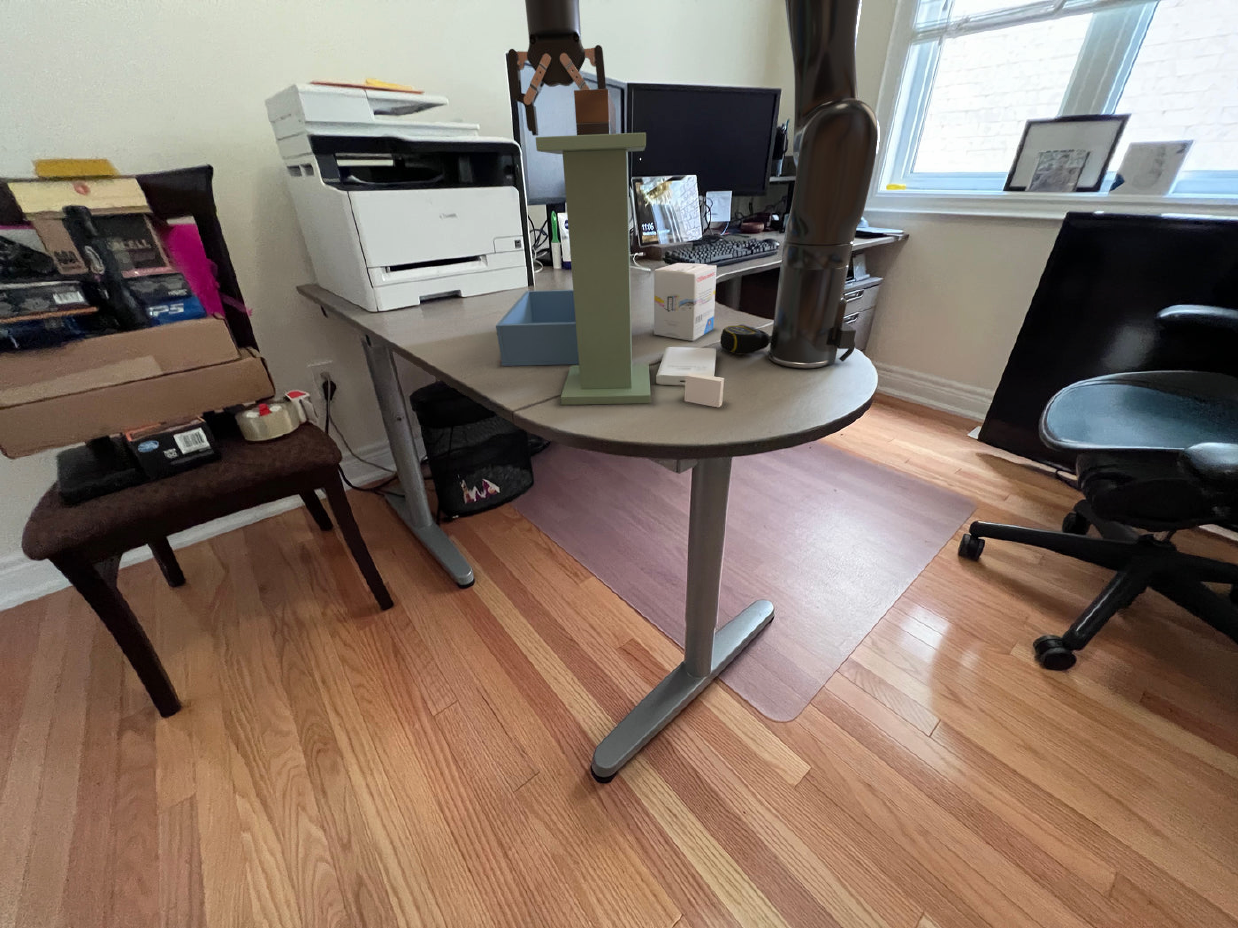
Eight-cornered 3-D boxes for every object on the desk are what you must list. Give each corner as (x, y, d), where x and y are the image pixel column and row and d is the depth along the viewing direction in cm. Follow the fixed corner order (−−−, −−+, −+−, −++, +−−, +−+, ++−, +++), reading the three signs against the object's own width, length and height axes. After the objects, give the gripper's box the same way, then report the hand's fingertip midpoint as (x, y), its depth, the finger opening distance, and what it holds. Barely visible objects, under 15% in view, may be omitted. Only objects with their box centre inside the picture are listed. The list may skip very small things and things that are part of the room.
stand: (648, 366, 77) (647, 139, 62) (650, 409, 64) (651, 132, 48) (572, 368, 78) (553, 143, 62) (559, 411, 64) (530, 137, 49)
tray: (595, 322, 100) (594, 289, 97) (585, 364, 79) (582, 323, 76) (530, 324, 101) (525, 291, 97) (502, 366, 80) (495, 325, 76)
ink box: (675, 323, 98) (677, 261, 91) (714, 329, 93) (718, 264, 87) (652, 335, 92) (652, 268, 86) (692, 342, 87) (695, 272, 81)
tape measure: (770, 353, 81) (773, 330, 79) (737, 361, 78) (740, 338, 76) (742, 342, 86) (744, 321, 84) (711, 349, 83) (712, 327, 81)
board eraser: (616, 143, 69) (615, 108, 67) (609, 136, 52) (608, 88, 50) (591, 144, 69) (589, 109, 67) (576, 137, 52) (573, 90, 50)
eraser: (719, 407, 64) (721, 381, 62) (684, 401, 66) (685, 375, 64) (722, 404, 65) (724, 377, 63) (687, 398, 67) (688, 372, 65)
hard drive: (715, 358, 80) (713, 387, 70) (665, 356, 81) (655, 384, 71) (716, 348, 79) (714, 376, 69) (665, 346, 81) (655, 373, 70)
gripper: (494, -11, 65) (512, 135, 74) (601, -17, 65) (607, 131, 73) (506, 5, 72) (521, 137, 80) (603, 0, 71) (608, 134, 80)
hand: (562, 134), depth 77 cm, fingers open, 8 cm apart
